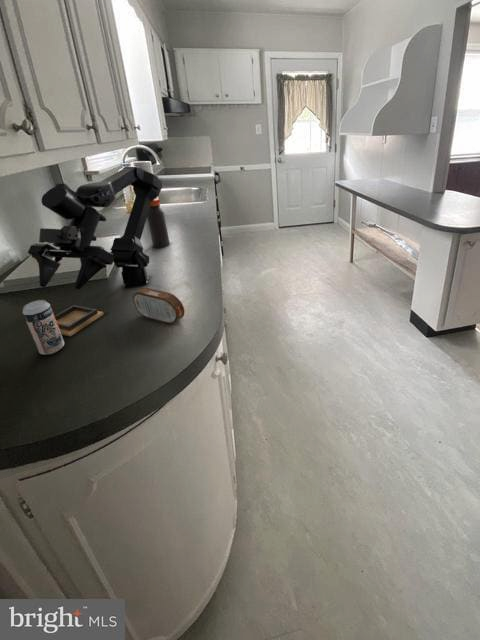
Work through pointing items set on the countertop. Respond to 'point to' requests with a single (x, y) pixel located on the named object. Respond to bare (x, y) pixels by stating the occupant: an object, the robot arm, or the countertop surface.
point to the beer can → (43, 327)
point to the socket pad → (76, 319)
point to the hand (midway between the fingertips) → (59, 287)
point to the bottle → (157, 224)
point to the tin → (158, 305)
